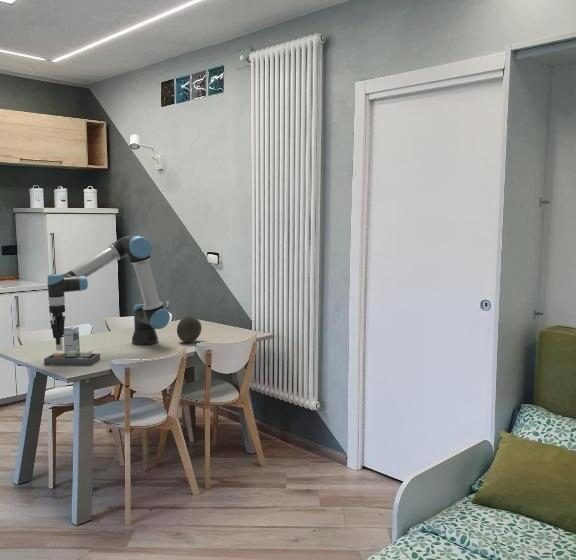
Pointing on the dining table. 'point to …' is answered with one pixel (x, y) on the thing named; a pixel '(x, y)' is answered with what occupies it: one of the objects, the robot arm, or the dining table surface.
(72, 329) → the syrup box
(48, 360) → the base
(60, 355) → the terracotta key
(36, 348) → the dining table surface
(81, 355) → the ivory key
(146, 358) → the dining table surface
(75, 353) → the sage key
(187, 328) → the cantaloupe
